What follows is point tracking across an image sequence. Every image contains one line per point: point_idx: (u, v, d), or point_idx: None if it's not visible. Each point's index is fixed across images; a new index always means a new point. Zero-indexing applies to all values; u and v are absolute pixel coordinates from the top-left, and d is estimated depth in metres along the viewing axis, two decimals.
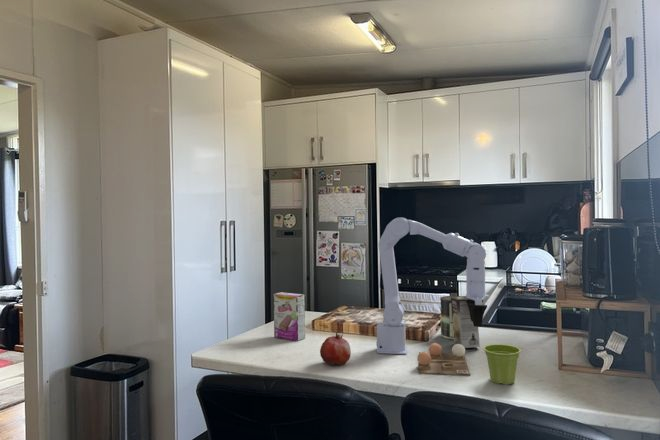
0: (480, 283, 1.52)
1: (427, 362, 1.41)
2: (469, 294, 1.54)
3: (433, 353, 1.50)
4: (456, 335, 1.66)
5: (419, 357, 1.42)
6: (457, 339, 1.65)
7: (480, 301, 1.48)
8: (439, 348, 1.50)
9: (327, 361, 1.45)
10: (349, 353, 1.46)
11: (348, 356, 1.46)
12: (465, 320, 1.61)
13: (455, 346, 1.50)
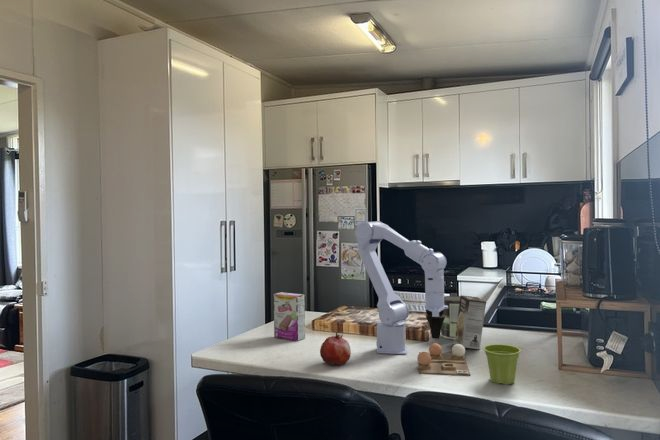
0: (438, 294, 1.49)
1: (427, 362, 1.41)
2: (427, 305, 1.50)
3: (433, 353, 1.50)
4: (458, 333, 1.66)
5: (419, 357, 1.42)
6: (458, 337, 1.65)
7: (437, 313, 1.44)
8: (439, 348, 1.50)
9: (327, 361, 1.45)
10: (349, 353, 1.46)
11: (348, 356, 1.46)
12: (471, 321, 1.61)
13: (455, 346, 1.50)
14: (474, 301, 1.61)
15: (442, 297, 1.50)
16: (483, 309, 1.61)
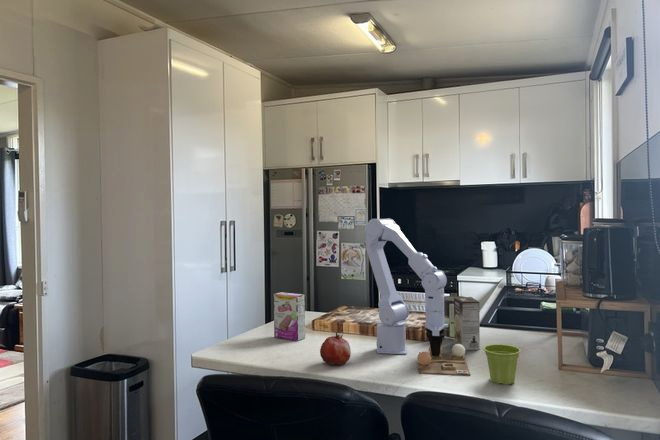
0: (438, 312, 1.49)
1: (427, 362, 1.41)
2: (428, 323, 1.50)
3: None
4: (457, 336, 1.66)
5: (419, 357, 1.42)
6: (457, 340, 1.65)
7: (437, 332, 1.44)
8: None
9: (327, 361, 1.45)
10: (349, 353, 1.46)
11: (348, 356, 1.46)
12: (467, 322, 1.61)
13: (455, 346, 1.50)
14: (467, 303, 1.61)
15: (442, 316, 1.50)
16: (477, 309, 1.61)
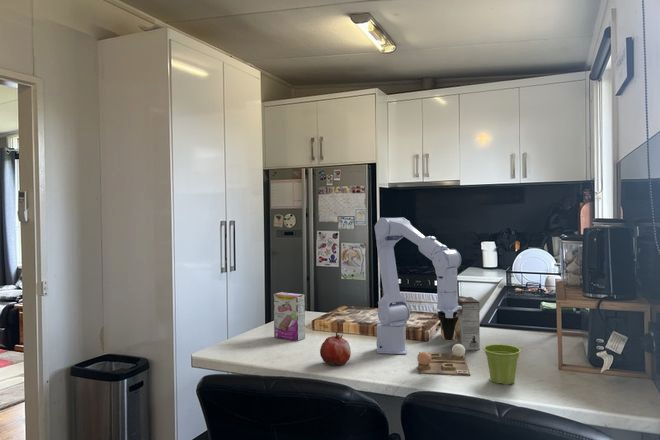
0: (452, 293, 1.39)
1: (427, 362, 1.41)
2: (440, 305, 1.40)
3: None
4: (457, 336, 1.66)
5: (419, 357, 1.42)
6: (457, 340, 1.65)
7: (451, 313, 1.34)
8: None
9: (327, 361, 1.45)
10: (349, 353, 1.46)
11: (348, 356, 1.46)
12: (467, 322, 1.61)
13: (455, 346, 1.50)
14: (467, 303, 1.61)
15: (456, 297, 1.40)
16: (477, 309, 1.61)
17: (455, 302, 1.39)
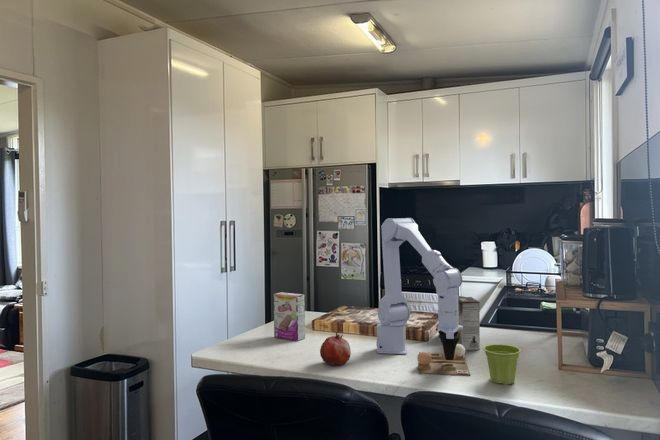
0: (452, 313, 1.38)
1: (427, 362, 1.41)
2: (441, 325, 1.40)
3: None
4: None
5: (419, 357, 1.42)
6: None
7: (452, 334, 1.34)
8: None
9: (327, 361, 1.45)
10: (349, 353, 1.46)
11: (348, 356, 1.46)
12: (467, 322, 1.61)
13: None
14: (467, 303, 1.61)
15: (456, 317, 1.39)
16: (477, 309, 1.61)
17: (456, 322, 1.39)
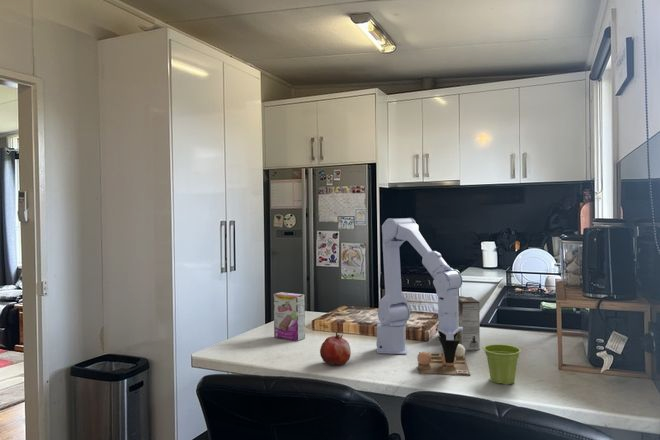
0: (452, 315, 1.38)
1: (427, 362, 1.41)
2: (441, 327, 1.40)
3: (447, 364, 1.40)
4: (457, 336, 1.66)
5: (419, 357, 1.42)
6: None
7: (452, 336, 1.34)
8: None
9: (327, 361, 1.45)
10: (349, 353, 1.46)
11: (348, 356, 1.46)
12: (467, 322, 1.61)
13: None
14: (467, 303, 1.61)
15: (456, 318, 1.39)
16: (477, 309, 1.61)
17: (456, 323, 1.39)
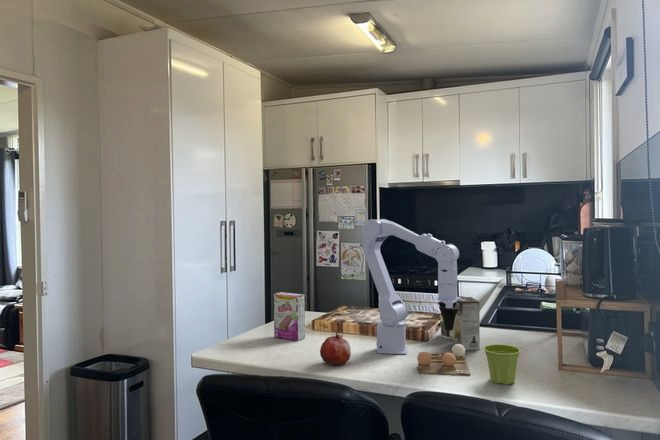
0: (452, 285, 1.48)
1: (427, 362, 1.41)
2: (441, 297, 1.49)
3: (447, 364, 1.40)
4: (457, 336, 1.66)
5: (419, 357, 1.42)
6: (457, 340, 1.65)
7: (451, 304, 1.44)
8: (453, 358, 1.40)
9: (327, 361, 1.45)
10: (349, 353, 1.46)
11: (348, 356, 1.46)
12: (467, 322, 1.61)
13: (455, 346, 1.50)
14: (467, 303, 1.61)
15: (455, 289, 1.49)
16: (477, 309, 1.61)
17: (455, 294, 1.49)
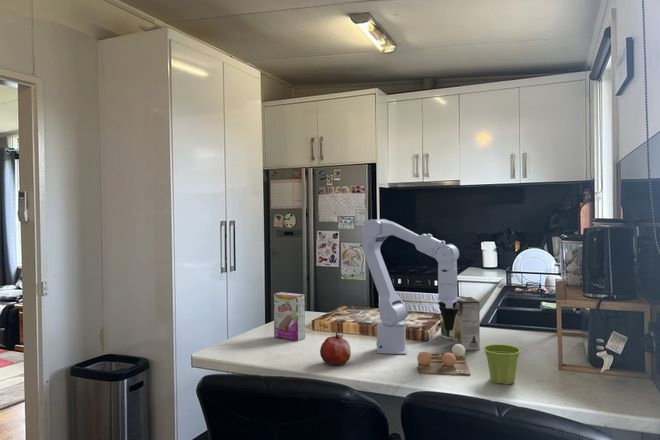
0: (452, 285, 1.48)
1: (427, 362, 1.41)
2: (441, 297, 1.49)
3: (447, 364, 1.40)
4: (457, 336, 1.66)
5: (419, 357, 1.42)
6: (457, 340, 1.65)
7: (451, 304, 1.44)
8: (453, 358, 1.40)
9: (327, 361, 1.45)
10: (349, 353, 1.46)
11: (348, 356, 1.46)
12: (467, 322, 1.61)
13: (455, 346, 1.50)
14: (467, 303, 1.61)
15: (455, 289, 1.49)
16: (477, 309, 1.61)
17: (455, 294, 1.49)
